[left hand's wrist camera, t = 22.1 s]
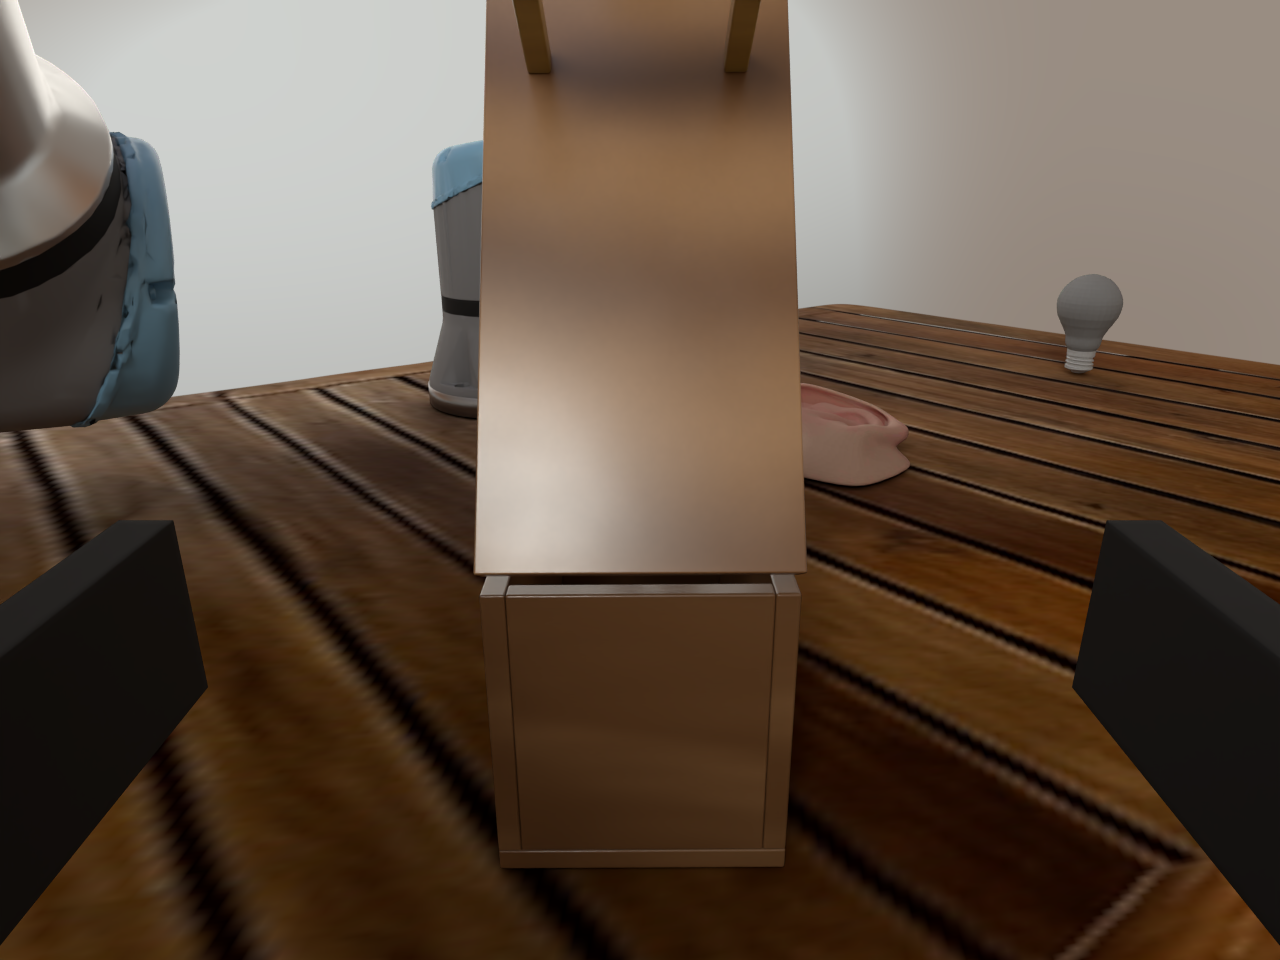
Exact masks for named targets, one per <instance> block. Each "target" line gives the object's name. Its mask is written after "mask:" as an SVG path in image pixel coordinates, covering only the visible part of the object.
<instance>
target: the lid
mask: <svg viewBox="0 0 1280 960" xmlns="http://www.w3.org/2000/svg"><path fill="white" fill-rule="evenodd" d="M806 572H807V557H806V527H805V498H804V468H803V439H802V409H801V380H800V350H799V321H798V291H797V262H796V232H795V203H794V173H793V144H792V115H791V85H790V55H789V26H788V0H486V45H485V90H484V133H483V178H482V222H481V267H480V311H479V355H478V400H477V444H476V489H475V533H474V575H478V576H651V575H799V574H803V573H806Z"/></svg>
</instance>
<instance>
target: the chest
mask: <svg viewBox="0 0 1280 960" xmlns="http://www.w3.org/2000/svg"><path fill="white" fill-rule="evenodd" d="M801 596H802V595H801V593H800V590H799V587H798V585H797V582H796V579H795V577H794V575H651V576H487V578H486V580H485V583H484V586H483V588H482V591H481V594H480V596H479V599H480V612H481V625H482V638H483V651H484V664H485V677H486V690H487V702H488V715H489V728H490V741H491V754H492V767H493V780H494V793H495V805H496V818H497V831H498V844H499V856H500V867H501V868H667V867H783V866H784V862H785V845H786V830H787V814H788V799H789V783H790V767H791V752H792V736H793V721H794V705H795V690H796V674H797V658H798V643H799V627H800V612H801Z"/></svg>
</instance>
